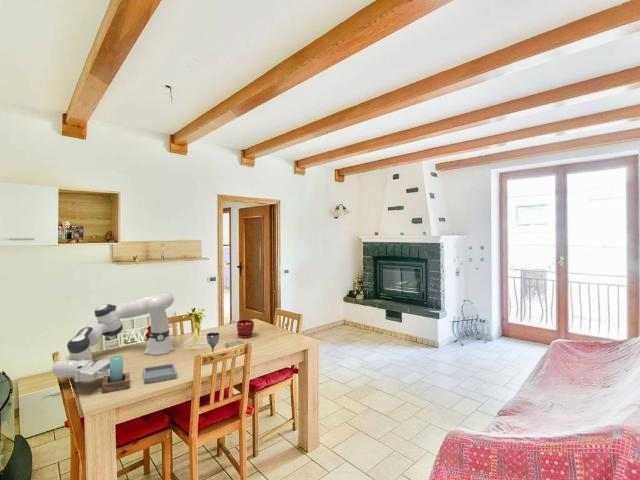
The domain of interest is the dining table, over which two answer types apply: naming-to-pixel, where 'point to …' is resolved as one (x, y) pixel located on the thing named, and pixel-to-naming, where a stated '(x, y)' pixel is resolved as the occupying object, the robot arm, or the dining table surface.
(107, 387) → the cup holder
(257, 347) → the dining table surface
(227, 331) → the dining table surface
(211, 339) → the wine glass
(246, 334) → the plant pot
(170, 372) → the tray
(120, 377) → the pillar candle
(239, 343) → the washcloth
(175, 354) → the dining table surface
